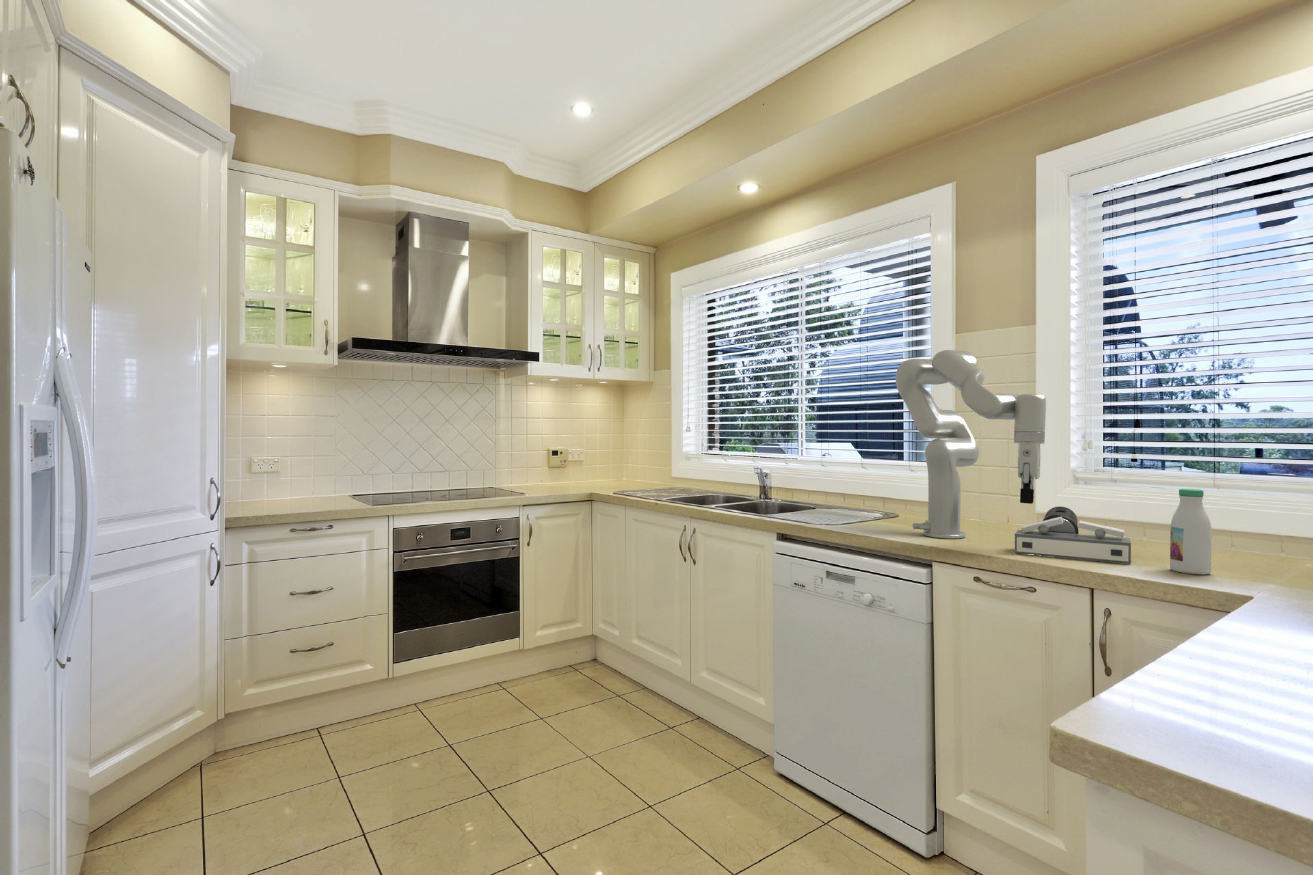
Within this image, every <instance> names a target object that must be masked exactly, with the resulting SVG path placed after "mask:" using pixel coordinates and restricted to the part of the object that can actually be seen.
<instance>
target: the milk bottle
mask: <svg viewBox="0 0 1313 875" xmlns="http://www.w3.org/2000/svg"><path fill="white" fill-rule="evenodd" d="M1204 494H1205V493H1204V490H1203V489H1201V488H1179V489H1178V498H1179V503H1178V506H1177V508H1176V510H1175V512H1174V513H1173V515H1172V517H1171V522H1170V538H1169V539H1170V540H1169V542H1170V543H1169V546H1170V548H1169V550H1170V551H1169V567H1170V569H1171V571H1174V572H1176V573H1177V572H1178V573H1183V574H1190V575H1211V573H1212V543H1213V542H1212V523H1211V520H1210V516H1209V515H1208V513H1207V512H1206V509H1205V507H1204V504H1203V500H1204Z"/></svg>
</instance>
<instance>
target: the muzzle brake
mask: <svg viewBox="0 0 1313 875" xmlns="http://www.w3.org/2000/svg"><path fill="white" fill-rule="evenodd" d="M1058 517H1062V519H1063V521H1064V522H1063V524H1059V525H1055V526H1051V527H1049V529H1048V531H1047V532H1055V533H1069V534H1079V531H1080V530H1079V528H1078V525H1079V522H1078V517H1077V514H1076V513H1075V512H1074V511H1073V509H1071V508H1068V507H1066V506H1060V505H1059V506H1053V507H1052V508H1050V509H1048V511H1047V512H1046V513H1045V515H1044V517H1043V519H1042V521H1045V520H1050V519H1054V518H1058Z"/></svg>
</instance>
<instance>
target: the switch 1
mask: <svg viewBox="0 0 1313 875" xmlns="http://www.w3.org/2000/svg"><path fill="white" fill-rule="evenodd" d="M1063 522H1064V521H1063V519H1062V517H1058V518H1054V519H1050V520H1045V521H1038V522H1034V523H1030V524H1026V525H1022V527H1021V528H1020V530H1022V532H1023V533H1025V532H1030V531H1039V532H1040V533H1046V532H1047V531H1048V529H1049V527H1051V526H1055V525H1059V524H1063Z"/></svg>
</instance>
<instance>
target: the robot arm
mask: <svg viewBox="0 0 1313 875" xmlns="http://www.w3.org/2000/svg"><path fill="white" fill-rule="evenodd" d="M984 380H985V372H983V370H981V369H980V368H979V367H978V361H977V358H976V357H975V355H974V354H973V353H972V352H969V351H965V350H956V349H955V350H954V349H944V350H941V351H938V352H937V353H936V354H935V355H934V356H933V357H932V359H930V358H929V359H928V358H911V359H910V358H909V359H906V360H904V361H902V362H901V363H900V364H899V366H898V368H897V369H896V373H895V386H896V389H897V391H898V393H899V395H900V397H901V399H902V401H903V402H904V404H905V406H906V407H907V410H908V412H909V414H910V416H911V418H912V420H913V422H914V424H915V427H916V429H917V430H918V432H919V434H920V435H921V436H922V437H923V438H926V439H932V440H931V441H930V442H928V444H927V445H926V447H925V450H924V458H925V462H926V467H927V480H928V482H927V484H928V485H927V487H928V488H927V489H928V490H927V491H928V496H927V498H928V499H927V500H928V501H927V502H928V507H927V509H928V511H927V513H928V514H927V515H928V518H927V519H928V520H927V519H926V520H925V521H923V522H922V523H919V522H913V523H912V529H913V530H922V534H923V535H924V536H926V537H931V538H937V539H949V540H950V539H952V540H954V539H964V538H965V537H967V536H966V535H967V534H966V532H964V531H961V477H960V475H959V472H958V470H957V468H961V467H962V468H964V467H970V466H973V465H974V464H975V463H976V462H977V461H978V459H979V455H980V450H979V446H978V443H977V442H976V440H975V437H974V435H973V433H972V432H971V430H970V427H969V426H968V424H967V422H966V421H965V418H964V417H963V416H962V415H961V414H960V413H959V412H957V411H956V410H951V409H941V408H939V406H938V405H937V403H936V401H935V400H934V398H933V396H932V394H931V393H930V392H929V391H928V390H927V389H926V388H925V387H924V386H923V385H932V386H933V385H935V386H936V385H943V384H947V383H949V384H950V385H951V386H953V387H954V388H956V389H957V390H958V391H959V392H960V395H961V398H962V400H963V402H964V404H965V405H966V406H967V407H968V408H969V409H971V410H972V411H974V413H976V414H977V415H979V416H980V417H983V418H985V419H986V420H1004V421H1005V420H1006V421H1007V420H1008V421H1009V420H1011V421H1012V420H1014V424H1013V425H1014V429H1013V443H1014V444H1018V446H1017V477H1018V478H1019V479H1021V481H1020V485H1021V486H1020V488H1019V489H1020V492H1019V494H1020V495H1019V503H1020V504H1029V505H1032V504H1033V503H1034V494H1035V488H1034V484H1035V483H1034V482H1035V481H1034V480H1038V479H1040V477H1041V445H1045V439H1046V437H1045V436H1046V413H1047V412H1046V411H1047V398H1046V397H1045V395H1043V394H1041V393H1040V394H1039V393H1023V394H1018V393H1001V392H999V393H998V392H991V391H990V390H988V389H987V388H986V387H984V386H983V385H982V384H983V382H984Z"/></svg>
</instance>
